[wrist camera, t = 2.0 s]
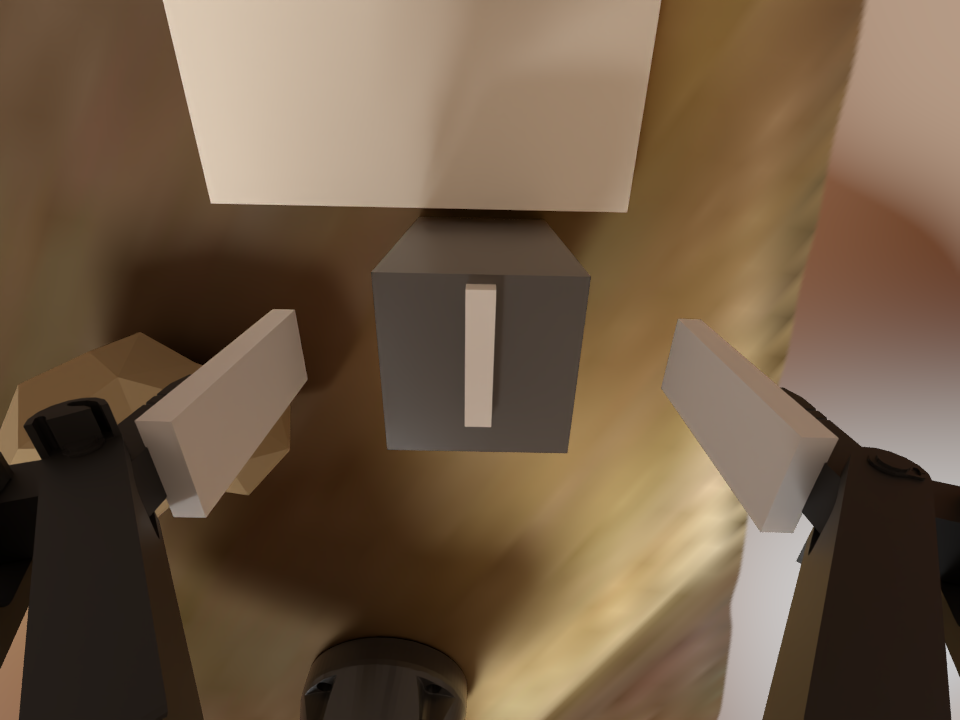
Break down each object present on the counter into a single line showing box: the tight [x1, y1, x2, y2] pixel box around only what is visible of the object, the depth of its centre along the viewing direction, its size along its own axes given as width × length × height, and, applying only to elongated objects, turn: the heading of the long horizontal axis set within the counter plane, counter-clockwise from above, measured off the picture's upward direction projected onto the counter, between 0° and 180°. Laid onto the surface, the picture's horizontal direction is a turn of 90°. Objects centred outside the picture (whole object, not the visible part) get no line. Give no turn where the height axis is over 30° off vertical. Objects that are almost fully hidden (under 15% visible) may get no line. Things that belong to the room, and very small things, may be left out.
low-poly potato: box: [0, 332, 291, 518], centre depth 24 cm, size 15×11×12 cm
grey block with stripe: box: [371, 217, 591, 453], centre depth 19 cm, size 7×7×12 cm
